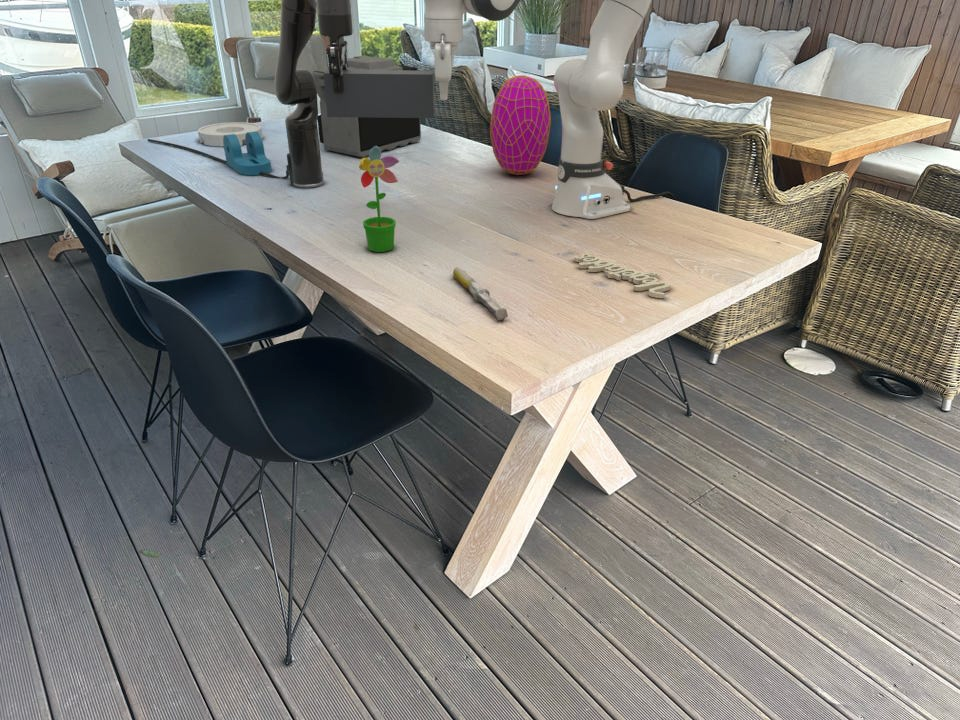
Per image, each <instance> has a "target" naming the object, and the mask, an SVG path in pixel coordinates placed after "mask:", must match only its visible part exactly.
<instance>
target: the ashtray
mask: <svg viewBox="0 0 960 720" xmlns="http://www.w3.org/2000/svg"><path fill="white" fill-rule="evenodd" d="M255 131H257V132H258V133H259V134H260V136H261V138H262V139H264V137H263V130H262V126H261V125H260V124H257V123H254V122H242V121H237V122H236V121H235V122H234V121H231V122H219V123H213V124H208V125H204V126H202V127H199V128H198V129H197V134H198V138H199V143H200V144H204V145H205V146H208V147H209V146H210V147H224V144H223V137H224V135H230V134H235V135H236V136H237V138H238V140H239V142H240V146H243V145H246V139H245V137H246V133H247V132H255Z"/></svg>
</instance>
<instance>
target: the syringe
mask: <svg viewBox="0 0 960 720" xmlns="http://www.w3.org/2000/svg"><path fill="white" fill-rule="evenodd" d="M452 274H453V277H454V279H455V280H457V281H458V282H459V283H460V285H462V287H464V289H466V290H467V291H468V293H470V295H471V296H472V298H473V300H474V302H477V303H478V302H480V303H482V304H483V305H484V306H485V307H486V308H487V309H488V310H489V311H490V312H491V313H492V314H493V315H494V316H495V317H496V320H497V321H503V320H504V319H506V318H507V317H509V314H508V310H507V308H506V307H502V306H501V305H500V303H498V302H497V301H496V300H494V299H493V298H492V297H491V296H490V295H491V293H490V290H488V289H486V288H483V287H482V286H481V285H480V284H479V283H478V282H477V281H476V280H474V278H473V277H471V275H469V274H468V273H467V272H466V270H465V269H464V268H463V267H462V266H456V267H454V268H453V271H452Z"/></svg>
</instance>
